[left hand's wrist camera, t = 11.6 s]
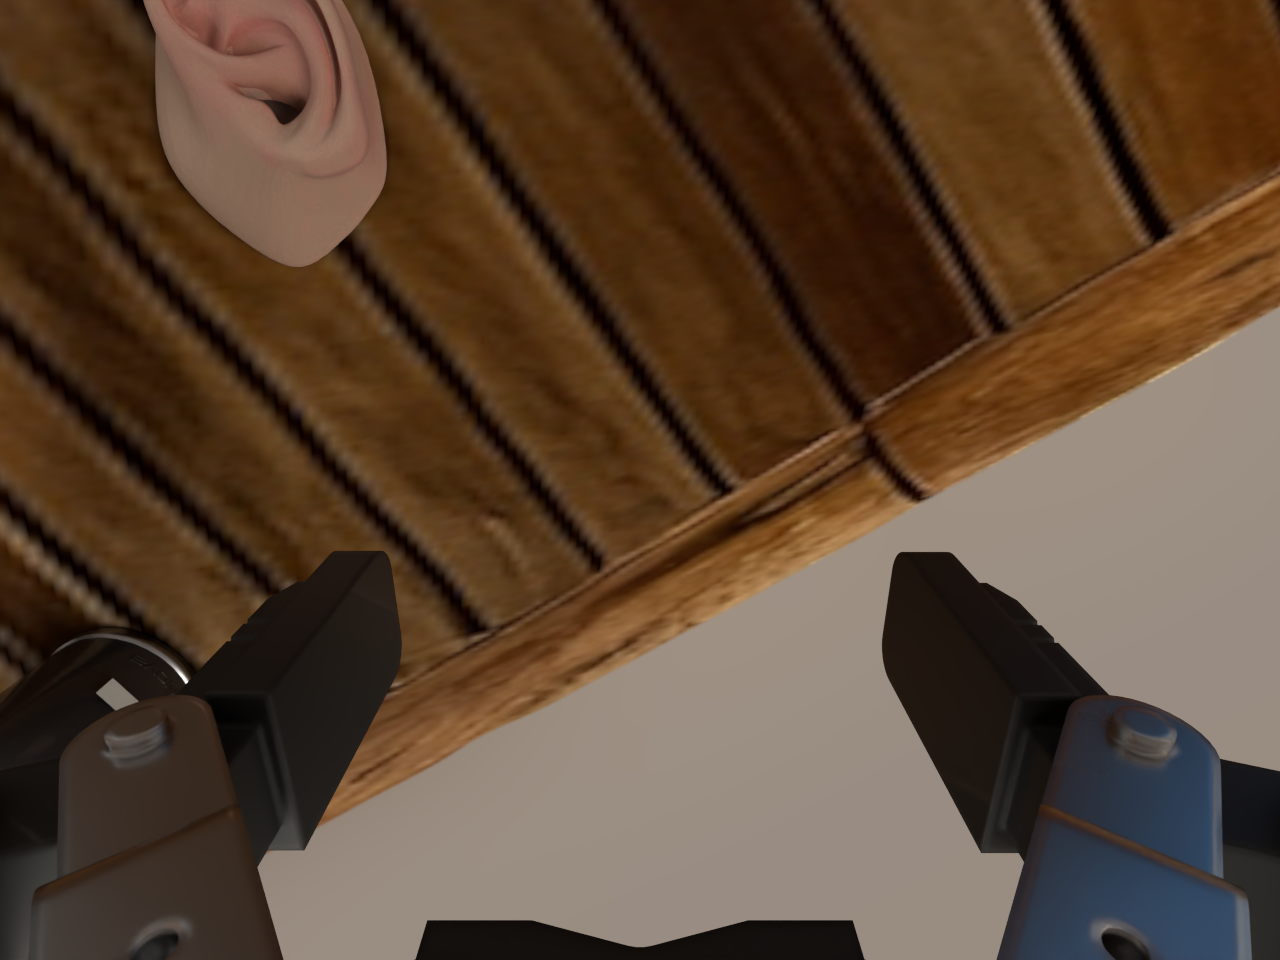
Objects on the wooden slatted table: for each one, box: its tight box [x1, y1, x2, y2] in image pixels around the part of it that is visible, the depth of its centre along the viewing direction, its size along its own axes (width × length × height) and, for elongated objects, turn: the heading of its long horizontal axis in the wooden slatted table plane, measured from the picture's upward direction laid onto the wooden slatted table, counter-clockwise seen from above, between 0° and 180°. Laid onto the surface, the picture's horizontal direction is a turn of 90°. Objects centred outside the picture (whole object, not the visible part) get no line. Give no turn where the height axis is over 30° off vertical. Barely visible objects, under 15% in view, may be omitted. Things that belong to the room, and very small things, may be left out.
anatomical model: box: [143, 0, 387, 267], centre depth 31 cm, size 13×4×12 cm
